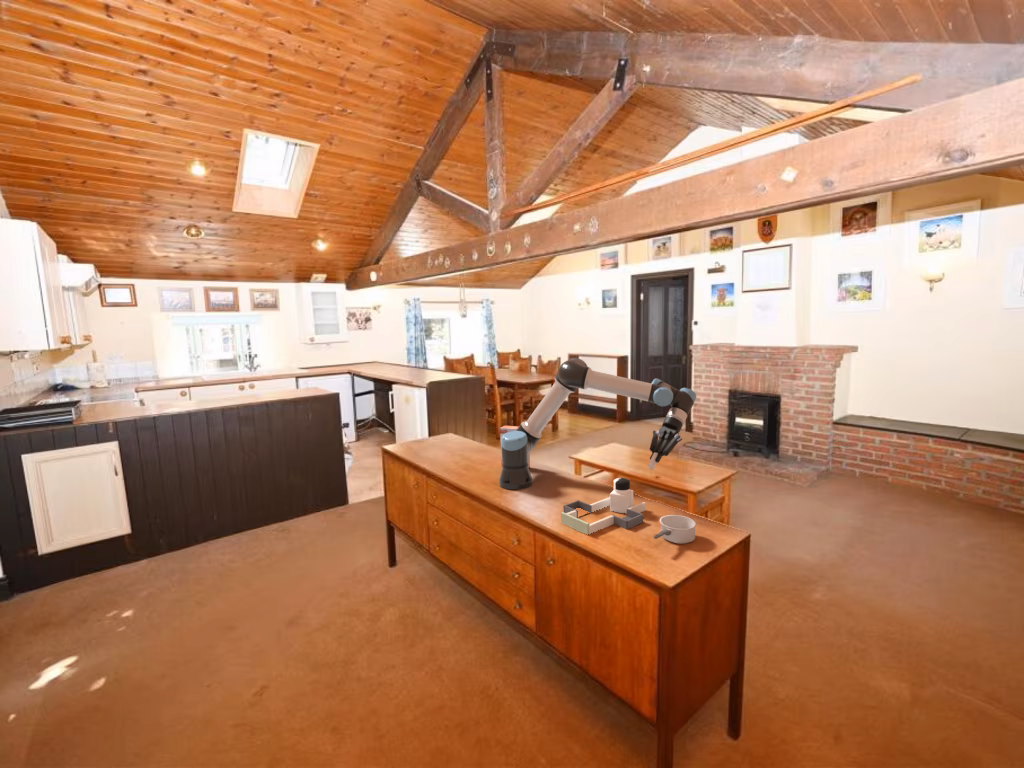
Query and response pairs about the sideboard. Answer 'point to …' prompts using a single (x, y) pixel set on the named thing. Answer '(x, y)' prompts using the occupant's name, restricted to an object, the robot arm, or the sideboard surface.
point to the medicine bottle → (621, 496)
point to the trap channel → (626, 522)
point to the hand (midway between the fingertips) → (650, 467)
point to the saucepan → (677, 529)
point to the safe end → (575, 523)
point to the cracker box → (509, 429)
